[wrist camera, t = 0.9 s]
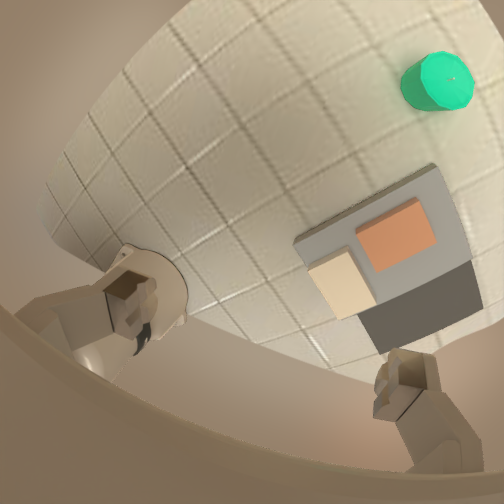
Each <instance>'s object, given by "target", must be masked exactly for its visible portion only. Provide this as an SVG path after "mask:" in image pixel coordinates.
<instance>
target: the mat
mask: <svg viewBox="0 0 504 504" xmlns="http://www.w3.org/2000/svg"><path fill="white" fill-rule="evenodd" d="M481 309H483V305H482V300H481V296H480V292H479V288H478V284H477V280H476V276H475V273H474V269H473V266H472V262H471V260H469V261H467V262H465V263H463V264H462V265H460V266H458V267H456V268H454V269H452V270H450V271H448V272H446V273H445V274H443V275H441V276H439V277H437V278H435V279H433V280H431V281H429V282H427V283H425V284H423V285H420V286H418V287H416V288H414V289H412V290H410V291H408V292H406V293H404V294H401V295H399V296H397V297H395V298H393V299H391V300H388V301H386V302H384V303H382V304H379V305H377V306H375V307H372V308H370V309H368V310H365V311H363V312H361V313H358V314H357V315H358V317H359V319H360V320H361V322H362V324H363V325H364V327H365V329H366V331H367V333H368V334H369V336H370V338H371V340H372V341H373V343H374V345H375V347H376V349H377V350H378V352H379V354H380V355H381V354H383V353H386V352H389V351H391V350H392V349H393V348H394V347H395V348H399V347H401V346H404V345H406V344H409V343H411V342H414V341H416V340H418V339H421V338H423V337H425V336H428V335H430V334H432V333H434V332H437V331H439V330H441V329H443V328H445V327H447V326H450V325H452V324H454V323H456V322H458V321H460V320H462V319H464V318H466V317H468V316H470V315H472V314H474V313H476V312H478V311H479V310H481Z"/></svg>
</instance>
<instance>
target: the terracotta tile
mask: <svg viewBox="0 0 504 504" xmlns="http://www.w3.org/2000/svg"><path fill="white" fill-rule="evenodd" d="M355 230H356V236H357V238H358V240H359V241H360V243H361V245H362V247H363V248H364V250H365V252H366V254H367V256H368V258H369V259H370V261H371V263H372V265H373V267H374V269H375V271H376V273H378V272H380V271H382V270H384V269H386V268H388V267H390V266H392V265H394V264H397V263H399V262H401V261H403V260H405V259H407V258H409V257H411V256H413V255H414V254H416V253H418V252H420V251H422V250H424V249H426V248H428V247H430V246H432V245H434V244H436V243H437V241H436V238H435V236H434V233H433V231H432V229H431V226H430V224H429V222H428V219H427V217H426V215H425V213H424V210H423V208H422V206H421V204H420V202H419V200H418V199H417V198H416V197H414V198H412V199H411V200H409V201H407V202H405V203H403V204H401V205H399V206H398V207H396V208H394V209H392V210H390V211H388V212H386V213H385V214H383V215H381V216H379V217H377V218H375V219H373V220H371V221H370V222H368V223H366V224H364V225H362V226H360V227H358V228H356V229H355Z"/></svg>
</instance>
